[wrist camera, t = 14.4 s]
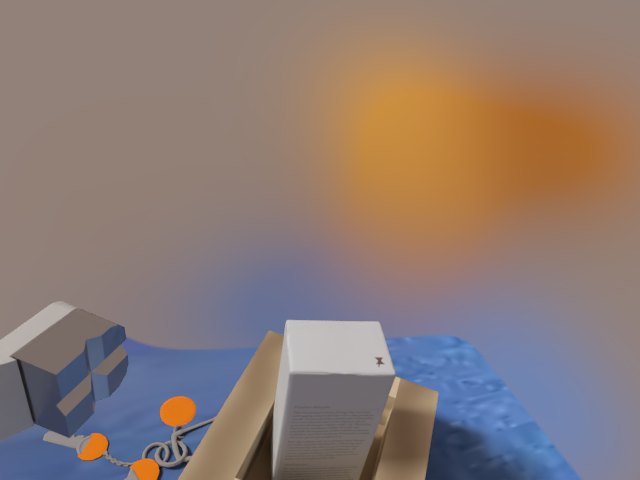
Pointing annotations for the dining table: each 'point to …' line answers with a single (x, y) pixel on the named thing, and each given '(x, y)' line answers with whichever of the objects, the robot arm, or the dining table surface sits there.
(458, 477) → the dining table surface
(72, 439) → the key chain
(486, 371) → the dining table surface
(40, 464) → the dining table surface
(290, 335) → the skincare box
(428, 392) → the socket block
